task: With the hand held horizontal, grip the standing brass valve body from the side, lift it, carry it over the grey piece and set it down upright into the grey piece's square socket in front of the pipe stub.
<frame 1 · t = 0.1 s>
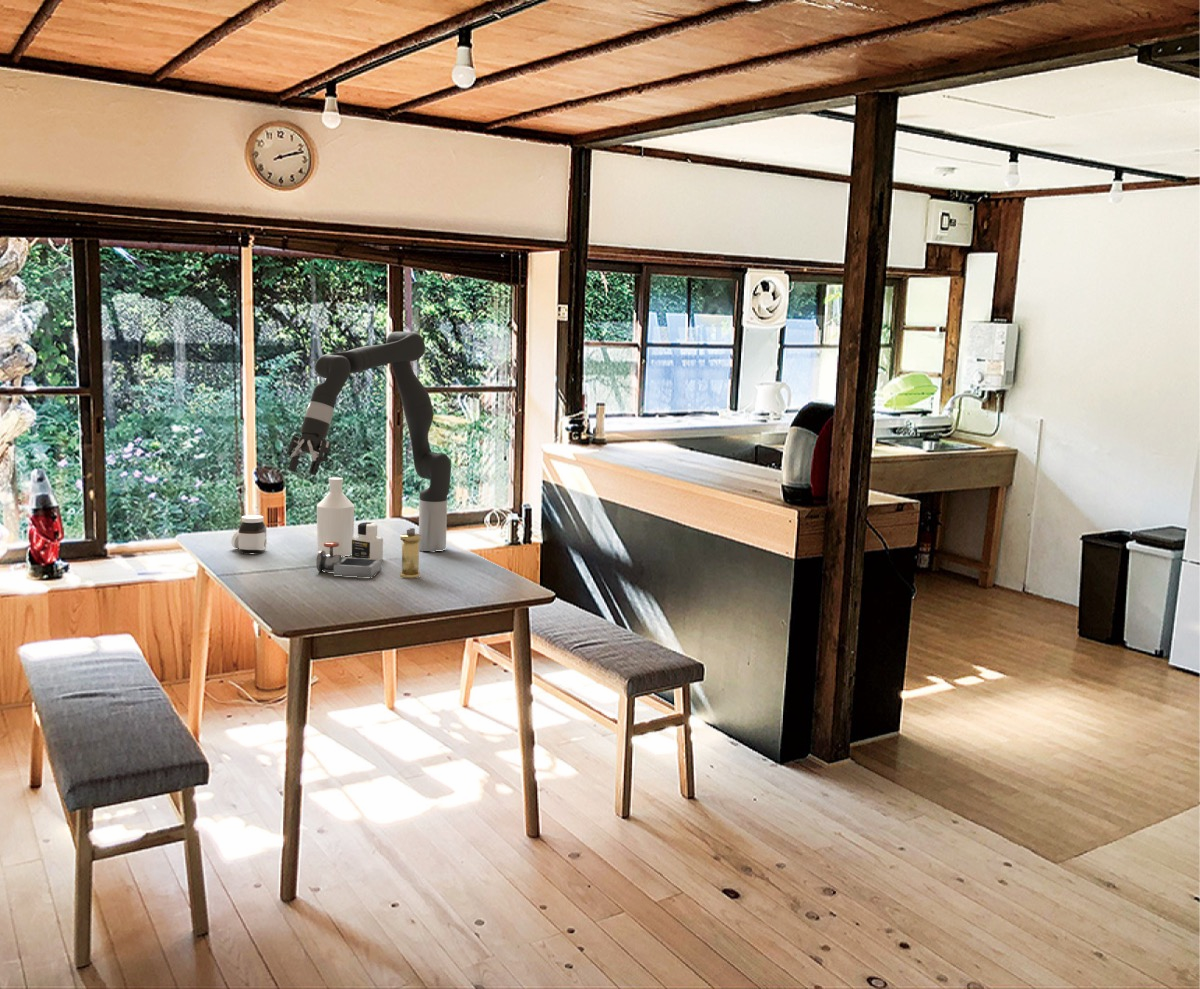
hand: (301, 472, 308), 31 cm above the table, tool tilted 20°, fingers open, 8 cm apart
grey piece: (357, 573, 322), on the table
bottle: (335, 554, 347), on the table
valve body: (410, 576, 321), on the table
medicine bottle: (367, 560, 341), on the table
spread jar: (248, 551, 346), on the table
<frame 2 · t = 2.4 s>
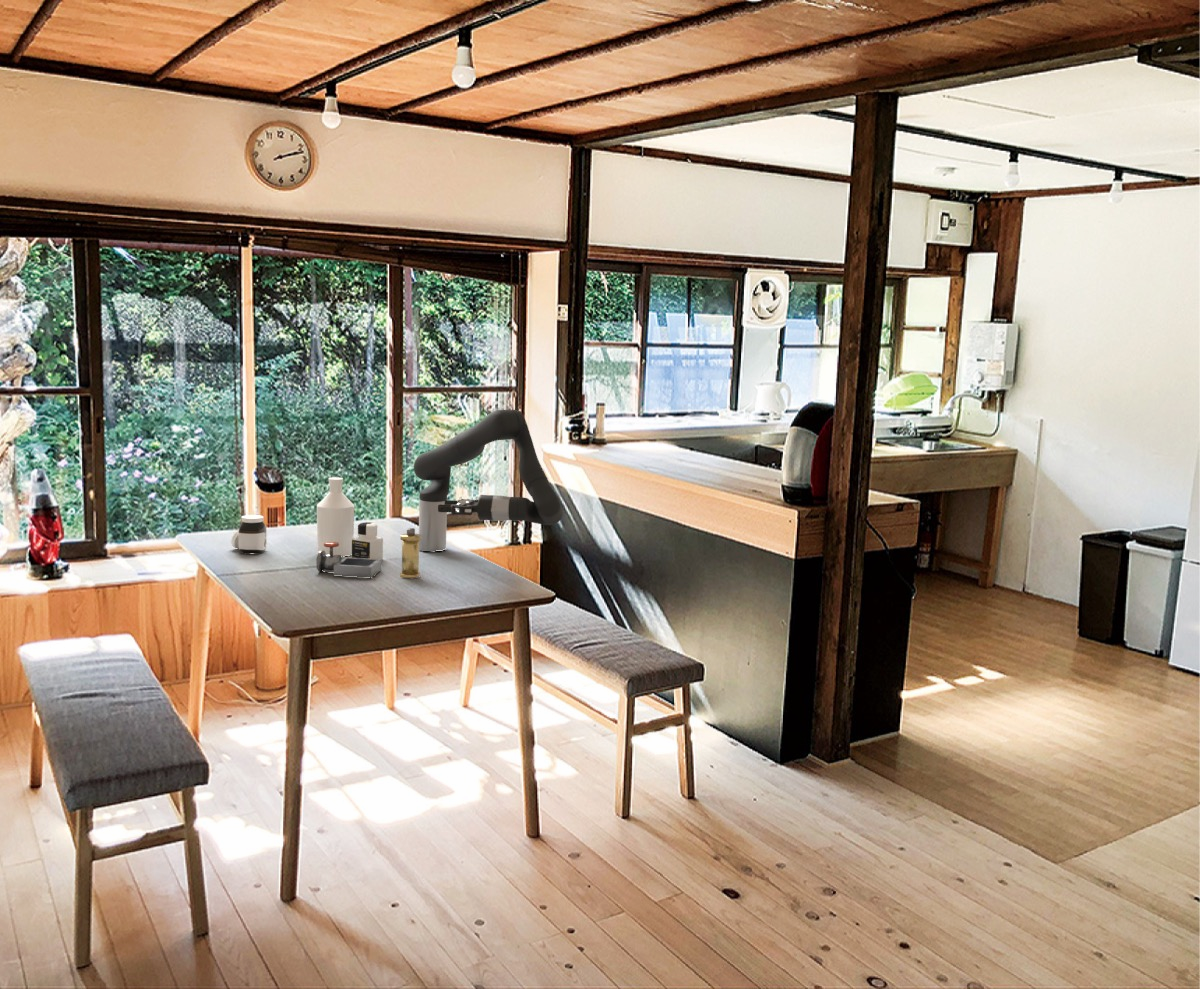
hand: (441, 506, 317), 22 cm above the table, tool horizontal, fingers open, 8 cm apart
nothing on the table moved.
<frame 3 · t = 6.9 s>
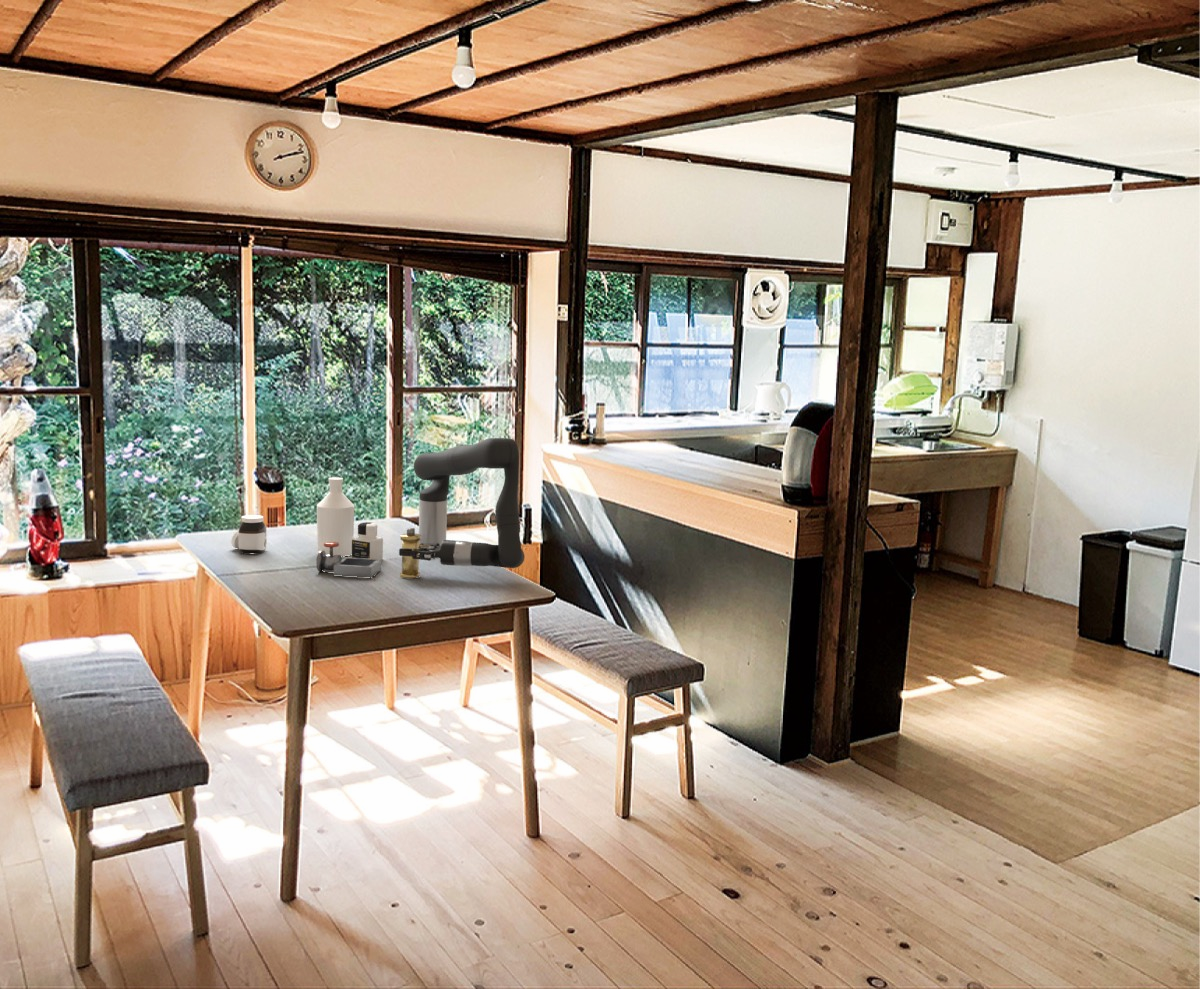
hand: (401, 550, 320), 8 cm above the table, tool horizontal, fingers closed on valve body, 5 cm apart
valve body: (410, 576, 321), on the table, touching gripper
everything else where it was.
when the fingers open (9 cm above the table, at t = 12.5 s): valve body stays where it is, resting on grey piece.
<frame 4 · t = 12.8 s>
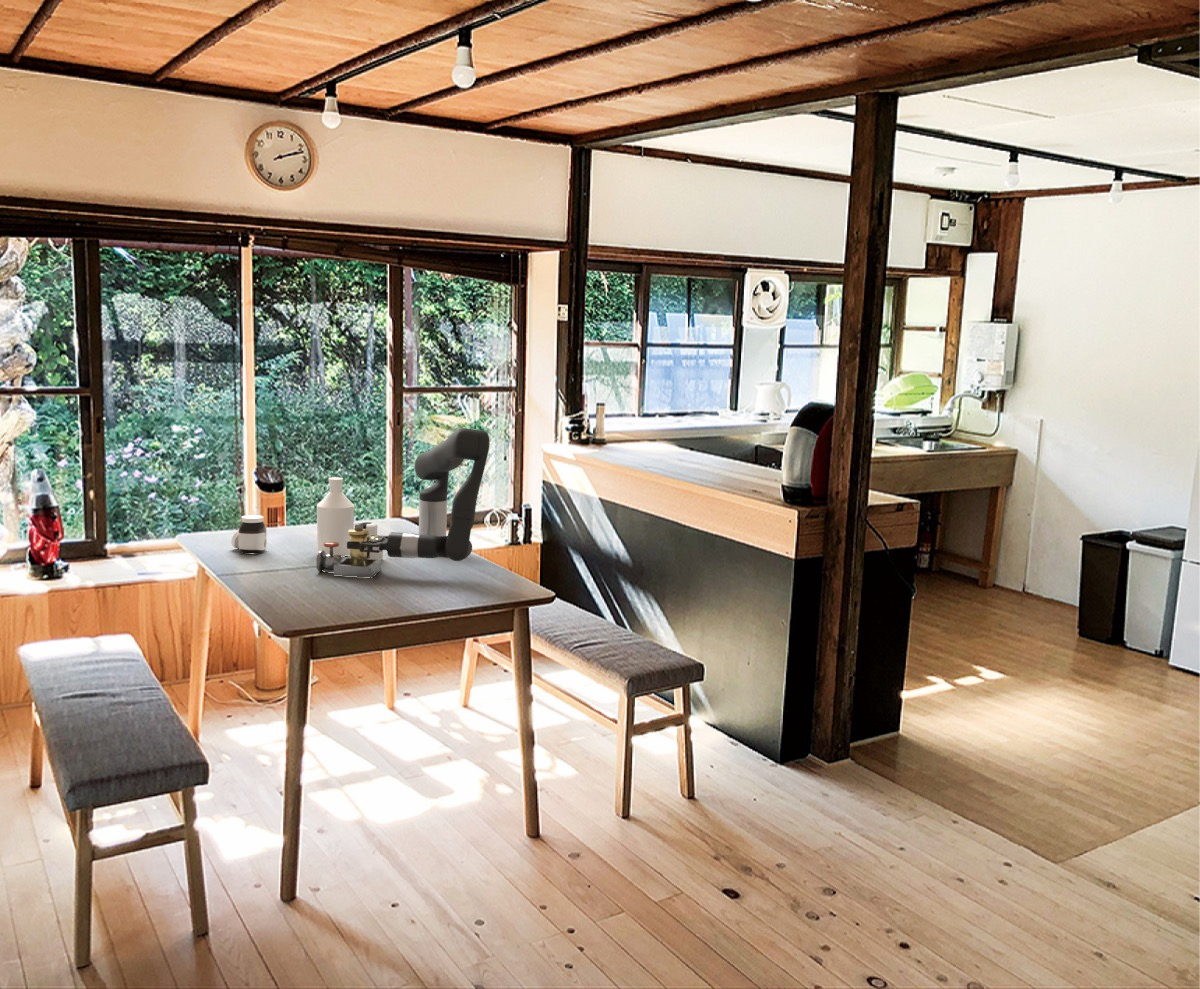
hand: (351, 542, 321), 9 cm above the table, tool horizontal, fingers open, 7 cm apart
valve body: (358, 571, 322), point 1 cm above the table, touching grey piece
everything else where it was.
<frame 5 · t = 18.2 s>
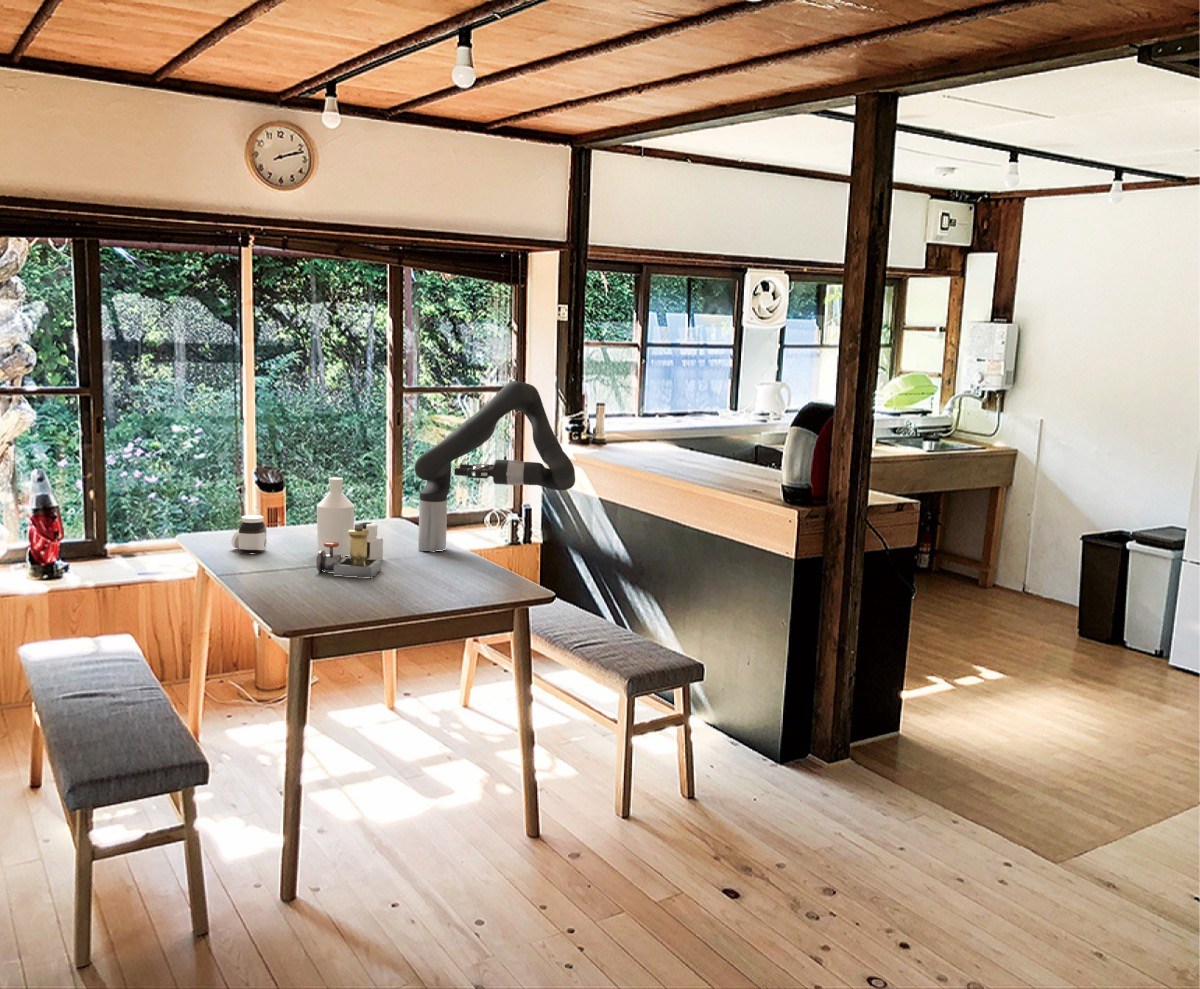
hand: (457, 469, 325), 32 cm above the table, tool horizontal, fingers open, 8 cm apart
nothing on the table moved.
at the end: valve body inside the target area on the grey piece (0.1 cm from its centre), point 0.6 cm above the grey piece's base; valve body tilted 0°; the gripper is holding nothing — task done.
